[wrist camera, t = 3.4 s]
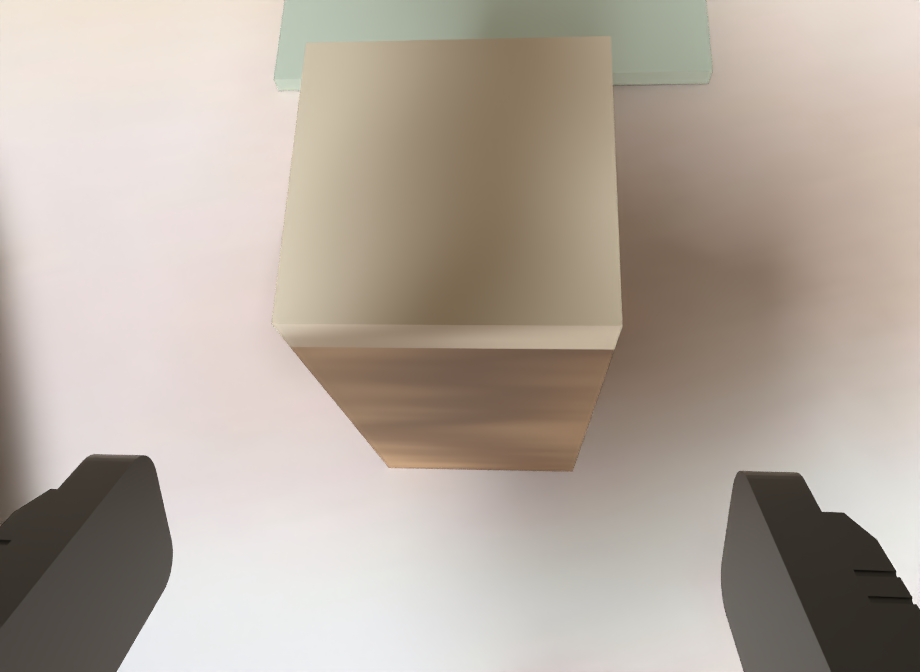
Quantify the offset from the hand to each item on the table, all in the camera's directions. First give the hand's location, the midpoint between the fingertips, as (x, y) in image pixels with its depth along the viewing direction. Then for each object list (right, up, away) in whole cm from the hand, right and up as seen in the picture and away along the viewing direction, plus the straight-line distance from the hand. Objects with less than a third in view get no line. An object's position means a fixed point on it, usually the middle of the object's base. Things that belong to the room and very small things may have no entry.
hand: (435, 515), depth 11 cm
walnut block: (+1, +1, +11) cm, 12 cm away
